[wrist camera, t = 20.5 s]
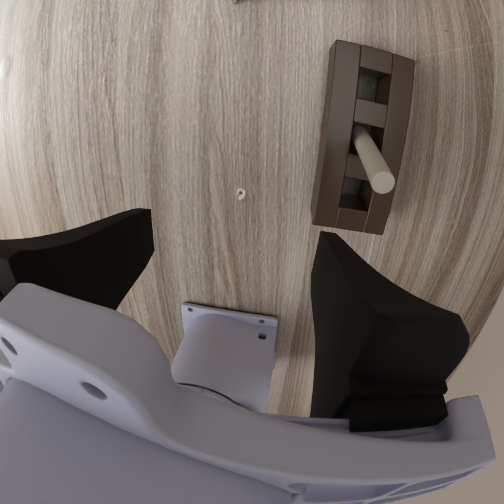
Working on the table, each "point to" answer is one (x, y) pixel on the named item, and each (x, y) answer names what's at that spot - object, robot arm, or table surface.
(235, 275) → the table surface
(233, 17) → the table surface
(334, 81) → the pen stand
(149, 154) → the table surface
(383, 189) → the beige thin cylinder
